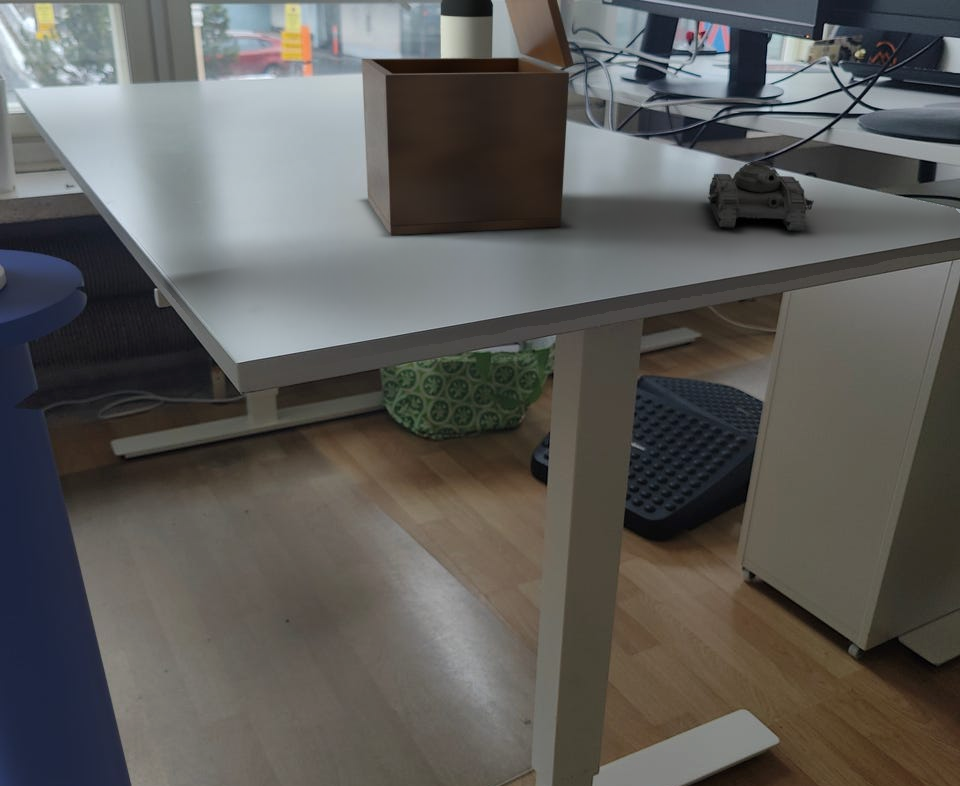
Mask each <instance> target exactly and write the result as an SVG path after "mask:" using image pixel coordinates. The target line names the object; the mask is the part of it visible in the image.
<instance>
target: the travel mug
mask: <svg viewBox="0 0 960 786" xmlns="http://www.w3.org/2000/svg"><path fill="white" fill-rule="evenodd" d="M493 28H494V4H493V1H492V0H441V2H440V58H493V33H494V32H493V30H494V29H493Z"/></svg>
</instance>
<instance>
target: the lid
mask: <svg viewBox="0 0 960 786" xmlns="http://www.w3.org/2000/svg"><path fill="white" fill-rule="evenodd" d="M504 3H505V6H506V10H507V14H508V16H509V19H510V23H511V27H512V30H513V33H514V37H515V40H516V44H517V47H518V50H519V54H521V55H523V56H527V57H529V58H533V59H535V60H539V61H542V62H545V63H548V64H552V65H554V66H556V67H557V66H558V67H560V68H564V69H568V68H570V67H573V66H574V65H575V63H574V59H573V55H572V52H571V48H570V44H569V40H568V37H567V33H566V29H565V24H564V22H563V21H564V20H563V18H562V14H561V9H560V6H559V2H558V0H504Z"/></svg>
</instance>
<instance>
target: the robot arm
mask: <svg viewBox="0 0 960 786" xmlns="http://www.w3.org/2000/svg"><path fill="white" fill-rule="evenodd" d="M5 284H6V276H5V272H4V269H3V267H2V266H1V265H0V290H1V289H2V288H3V287H4V285H5Z"/></svg>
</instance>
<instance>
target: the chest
mask: <svg viewBox="0 0 960 786" xmlns="http://www.w3.org/2000/svg"><path fill="white" fill-rule="evenodd" d="M361 74H362V97H363V116H364V117H363V118H364V139H365V140H364V142H365V161H366V162H365V163H366V164H365V166H366V186H367V189H366V190H367V201H368V203H369V204H370V206H371V207H372V209H373V211H374V212H375V214H376V215H377V216H378V218H379V220H380V221H381V223H382V224H383V225H384V227H385V228H386V230H387V232H388V233H389V235H390V236H396V235H397V236H399V235H401V236H402V235H403V236H404V235H420V234H441V233H460V232H463V233H464V232H481V231H482V232H483V231H500V230H501V231H502V230H521V229H522V230H523V229H542V228H561V226H562V210H563V208H562V207H563V196H564V195H563V194H564V193H563V192H564V175H565V174H564V173H565V158H566V157H565V155H566V140H567V122H568V103H569V88H570V87H569V86H570V85H569V83H570V72H568V71H564V70H563V69H558V68H555V67H553V66H550V65H547V64H543V63H541V62H538V61H535V60H532V59H529V58H526V57H523V56H522V57H520V56H519V57H492V58H441V57H420V58H419V57H417V58H415V57H414V58H412V57H409V58H407V57H405V58H404V57H403V58H361Z"/></svg>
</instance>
